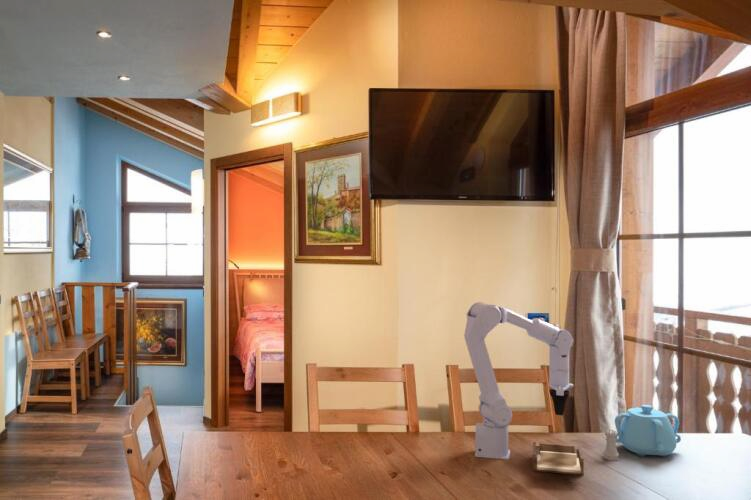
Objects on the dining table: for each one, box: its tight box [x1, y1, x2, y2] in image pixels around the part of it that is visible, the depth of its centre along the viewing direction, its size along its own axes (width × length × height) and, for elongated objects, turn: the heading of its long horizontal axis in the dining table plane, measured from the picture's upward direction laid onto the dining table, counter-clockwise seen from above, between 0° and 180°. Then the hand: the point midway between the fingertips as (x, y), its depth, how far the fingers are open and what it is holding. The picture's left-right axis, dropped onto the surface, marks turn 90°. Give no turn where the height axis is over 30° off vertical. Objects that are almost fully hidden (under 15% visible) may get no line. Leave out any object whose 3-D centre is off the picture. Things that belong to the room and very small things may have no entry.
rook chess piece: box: [602, 429, 620, 461], centre depth 176 cm, size 4×4×8 cm
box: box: [532, 441, 585, 476], centre depth 169 cm, size 13×11×5 cm
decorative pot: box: [614, 404, 682, 458], centre depth 183 cm, size 16×16×14 cm
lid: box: [537, 451, 581, 473], centre depth 161 cm, size 11×10×3 cm
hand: (559, 414), depth 185 cm, fingers closed
